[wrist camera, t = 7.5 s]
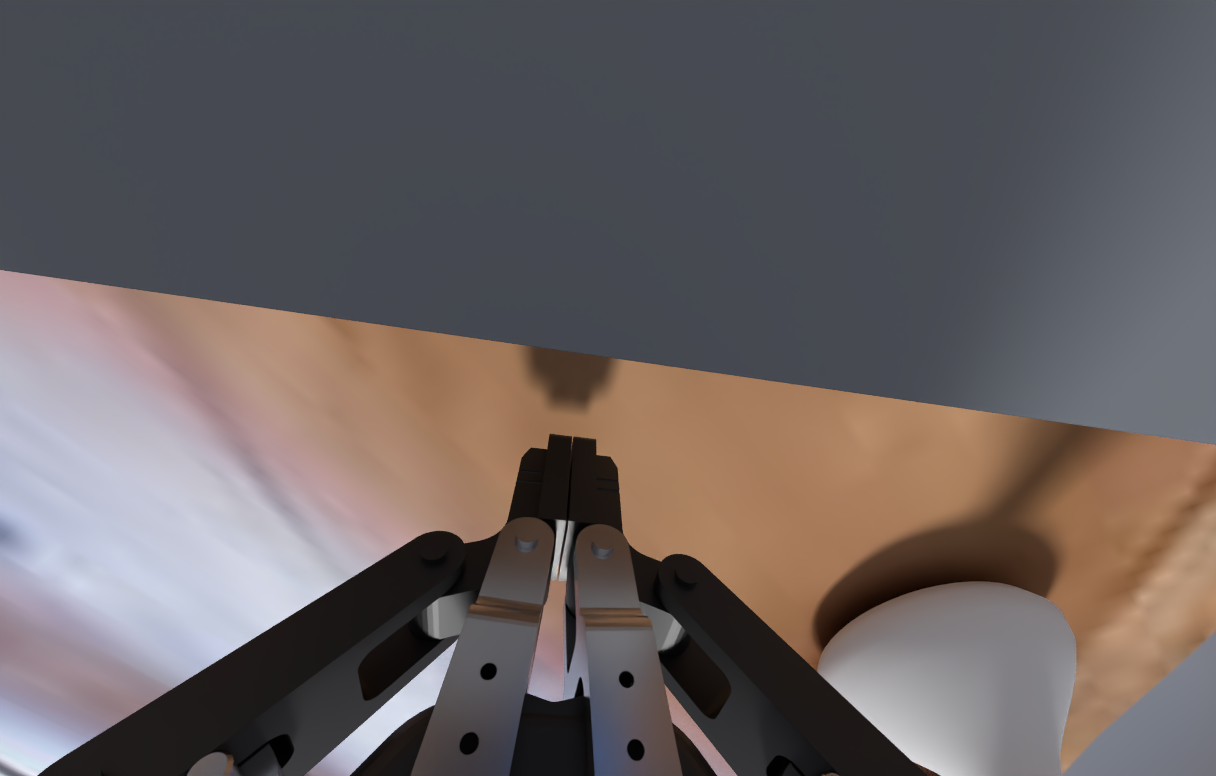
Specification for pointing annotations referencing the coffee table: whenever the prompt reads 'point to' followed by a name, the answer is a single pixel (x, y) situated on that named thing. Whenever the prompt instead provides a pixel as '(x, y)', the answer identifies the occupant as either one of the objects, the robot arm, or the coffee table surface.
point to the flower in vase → (961, 677)
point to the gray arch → (657, 182)
